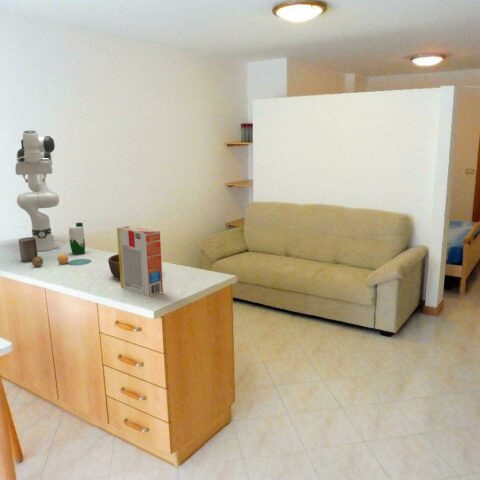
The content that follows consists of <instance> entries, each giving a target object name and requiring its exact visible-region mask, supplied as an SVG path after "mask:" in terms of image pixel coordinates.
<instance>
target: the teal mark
mask: <svg viewBox="0 0 480 480" xmlns="http://www.w3.org/2000/svg"><path fill="white" fill-rule="evenodd" d="M91 262H92V259H88V258H79V259H72V260H68V262H67V263H66V265H68V266H82V265H87V264H90V263H91Z"/></svg>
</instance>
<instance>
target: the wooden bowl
mask: <svg viewBox="0 0 480 480" xmlns="http://www.w3.org/2000/svg"><path fill="white" fill-rule="evenodd" d="M107 262H108V266H109V270H110V273H111V275H112V276H113V277H114V278H115V279H116V280H120V266H119V253H118V254H113V255H111V256H110V257H108V260H107Z"/></svg>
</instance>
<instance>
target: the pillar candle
mask: <svg viewBox="0 0 480 480" xmlns="http://www.w3.org/2000/svg"><path fill="white" fill-rule="evenodd" d="M18 247H19V253H20V261H21V262H22V263H32V259H33V258H34V257H37V256H38V257H39V255H38V251H37V246H36V238H34V237H32V236H31V237H29V236H28V237H27V236H26V237H22V238H19V239H18Z"/></svg>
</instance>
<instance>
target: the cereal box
mask: <svg viewBox="0 0 480 480" xmlns="http://www.w3.org/2000/svg"><path fill="white" fill-rule="evenodd" d="M116 234H117V236H116V237H117V249H118V252H117V253H118V254H119V266H120V279H119V280H120V287H121V288H122V289H125V290H129V291H132V292H134V293H137V294H140V295H143V294H144V295H143V296H146V295H147V296H146V297H148V296H150V297H152V296H151V295H153V296H155V295H154V294H157V293H160V292H163V293H164V290H163V289H164V286H163V268H162V267H163V265H162V248H161V247H162V246H161V244H162V243H161V231H160V230H155V229H151V228H145V227H140V226H134V225H128V226H120V227H116ZM160 294H161V293H160ZM157 295H158V294H157Z"/></svg>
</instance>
